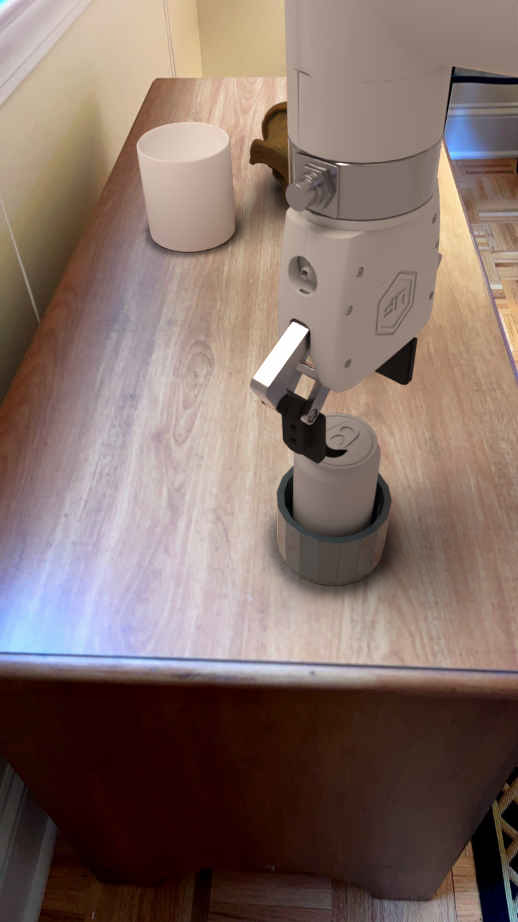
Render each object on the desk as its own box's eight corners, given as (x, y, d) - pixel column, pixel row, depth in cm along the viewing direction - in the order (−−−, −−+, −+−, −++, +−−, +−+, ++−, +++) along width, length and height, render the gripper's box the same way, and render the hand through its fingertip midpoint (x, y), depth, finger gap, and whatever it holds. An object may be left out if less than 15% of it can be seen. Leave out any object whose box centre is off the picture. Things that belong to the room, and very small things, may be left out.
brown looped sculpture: (186, 172, 90) (247, 83, 100) (226, 253, 99) (279, 163, 110) (313, 150, 80) (366, 54, 91) (345, 241, 89) (389, 144, 100)
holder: (374, 496, 62) (381, 451, 58) (391, 583, 56) (400, 540, 51) (274, 501, 62) (273, 456, 58) (281, 589, 56) (280, 546, 51)
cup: (239, 208, 98) (234, 121, 89) (231, 252, 90) (225, 162, 81) (157, 208, 99) (145, 121, 90) (143, 252, 91) (127, 162, 82)
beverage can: (277, 539, 59) (275, 441, 50) (325, 495, 62) (331, 396, 53) (336, 582, 56) (345, 486, 47) (383, 533, 59) (400, 435, 50)
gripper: (310, 266, 29) (311, 515, 42) (515, 126, 37) (464, 370, 50) (188, 214, 33) (223, 457, 45) (399, 96, 41) (379, 331, 53)
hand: (349, 411), depth 48 cm, fingers open, 9 cm apart
